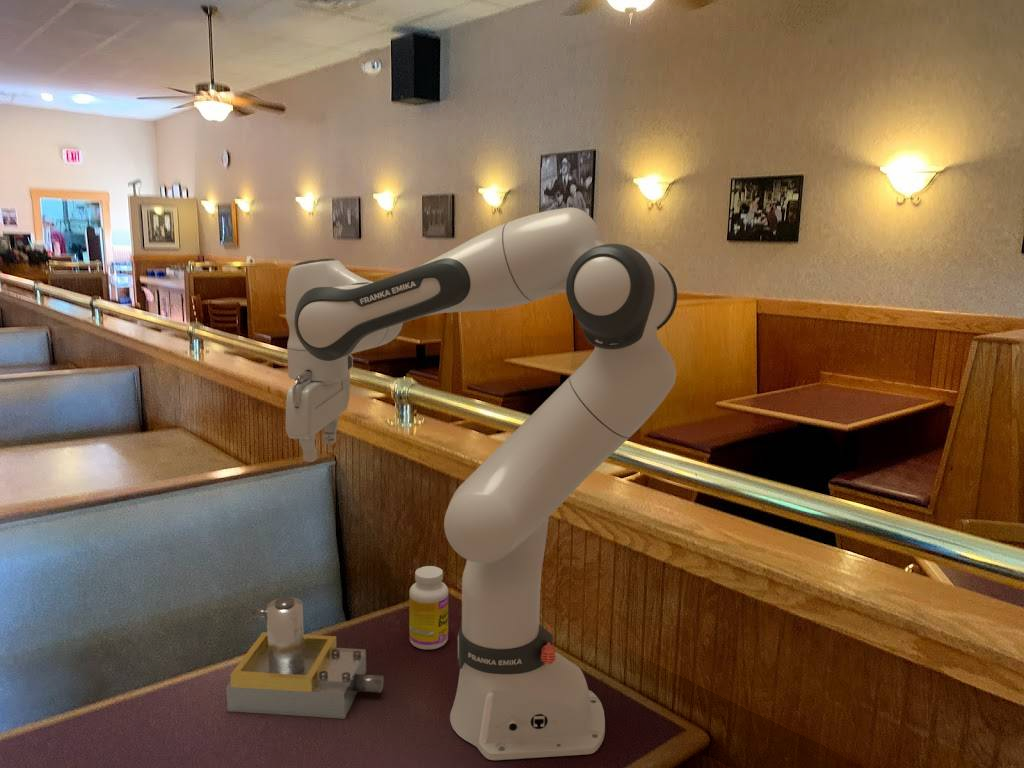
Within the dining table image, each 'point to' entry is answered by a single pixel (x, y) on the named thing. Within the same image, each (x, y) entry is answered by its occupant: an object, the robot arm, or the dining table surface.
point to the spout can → (284, 634)
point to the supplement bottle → (428, 609)
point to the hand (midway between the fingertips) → (320, 451)
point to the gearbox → (301, 681)
